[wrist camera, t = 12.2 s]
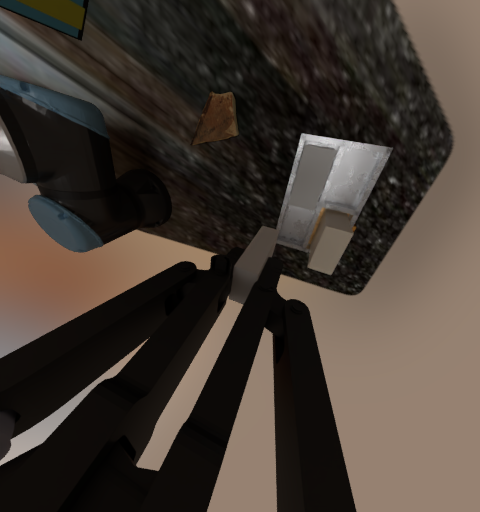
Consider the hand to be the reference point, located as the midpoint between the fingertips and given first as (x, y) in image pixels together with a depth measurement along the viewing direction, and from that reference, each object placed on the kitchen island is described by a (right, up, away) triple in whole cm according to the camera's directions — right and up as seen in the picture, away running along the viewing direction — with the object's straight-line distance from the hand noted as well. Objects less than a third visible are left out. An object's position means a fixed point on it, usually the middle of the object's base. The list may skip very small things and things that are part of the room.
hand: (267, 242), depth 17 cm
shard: (-6, +24, +21) cm, 33 cm away
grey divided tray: (+13, +10, +21) cm, 26 cm away
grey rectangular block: (+11, +14, +18) cm, 25 cm away
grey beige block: (+15, +4, +22) cm, 27 cm away
